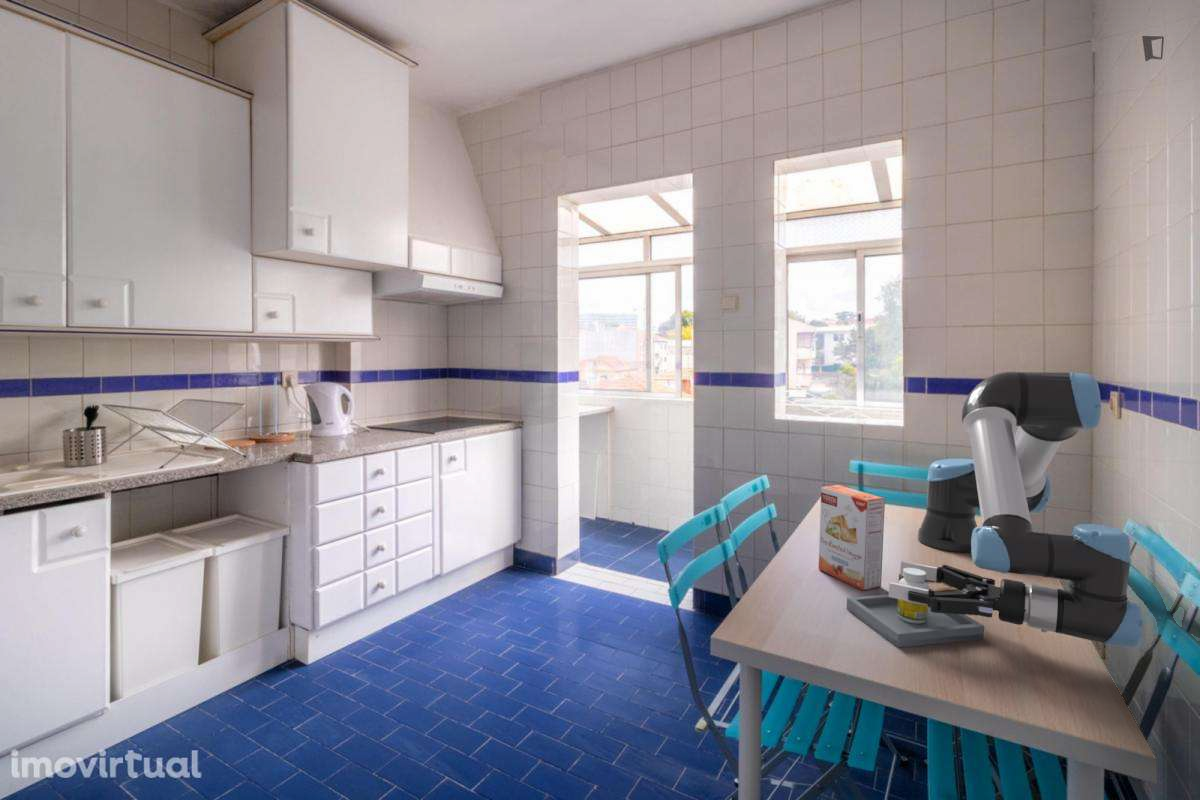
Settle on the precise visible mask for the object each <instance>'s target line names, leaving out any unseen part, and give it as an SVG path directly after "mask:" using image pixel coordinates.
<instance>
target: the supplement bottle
mask: <svg viewBox="0 0 1200 800" xmlns="http://www.w3.org/2000/svg"><path fill="white" fill-rule="evenodd" d="M903 577H904V578H902V579H901V580H900V581H899V580H898V581H899V582H898V584H903V585H908V586H912V587H917V588H922V589H927V590H929V589H930V586H929V584H928V583H927V582H926V581H927V580H926V572H924V571H923V570H920V569H916V568H904V569H903ZM897 615H898V617H899V618H900V619H902V620H904V621H906V622H909V623H913V624H923V623H926V622H927V619H928V605H923V604H919V603H914V602H910V601H905V600H900V599H898V608H897Z"/></svg>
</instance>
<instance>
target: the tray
mask: <svg viewBox="0 0 1200 800" xmlns="http://www.w3.org/2000/svg"><path fill="white" fill-rule="evenodd" d="M897 608H898V599H896V598H891V597H889V593H887V594H879V595H878V594H877V595H874V594H873V595H864V596H852V597H850V596H849V597H847V598H846V610H847V611H848V612H849V613H851V615H854V616H855V617H856V618H858V619H859V620H860V621H861V622H863V623H864V624H866V625H867V626H868V627H870V628H871V629H872V630H874V631H875V632H876V633H878V634H879V635H880V636H882V637H883V638H884V639H885V640H886V641H888V642H890V643H891V644H892V645H894V647H897V648H905V647H916V646H917V647H918V646H926V645H935V644H936V645H938V644H945V643H955V642H956V643H957V642H967V641H976V640H977V639H978V640H984V639H983V638H985V629H986V627H985V625H984V624H982V623H980V622H978V621H976V620H974V619H973V618H971V617H969V616H968V615H965V614H949V613H934V612H931V611H930V610H931V608H930V607H928V619H927V622H926V623H923V624H913V623H909V622H906V621H904V620H902V619H900V618H899V617H898V615H897Z"/></svg>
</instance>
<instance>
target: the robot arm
mask: <svg viewBox="0 0 1200 800" xmlns="http://www.w3.org/2000/svg"><path fill="white" fill-rule="evenodd" d="M1099 386H1100V385H1099V384H1098V381H1097V380H1096V378H1095V377H1094V376H1093V375H1091V374H1088V373H1079V372H1073V371H1070V372H1048V371H1047V372H1039V371H1037V372H1034V371H1033V372H1031V371H1030V372H1029V371H1028V372H1027V371H1025V372H1023V371H1022V372H1021V371H1020V372H1019V371H1018V372H1017V371H1004V372H1000V373H997V374H993V375H991V376H989V377H987V378H986V379H983V380H982V381H981V382H979V383H977V385H976V386H975V387H974V388H973V389H972V390H971V392H970V393H968V395H967V397H966V399H965V401H964V403H963V407H962V410H961V412H962V413H961V421H962V423H961V424H962V428H963V430H964V432H965V433H967V435H969V440H970V446H971V452H972V459H971V458H946V459H939V460H936V461H933V462H932V463H931V464H930V465H929V467H928V472H927V473H928V474H927V478H926V479H927V496H926V497H927V498H926V511H925V516H924V517H923V519H922V522H921V525H920V527H919V529H918V531H917V540H918V541H919V542H920V543H921V544H923V545H925V546H927V547H930V548H933V549H938V550H942V551H943V550H944V551H949V552H957V553H970V552H971V559H972V561H973V563H974V565H975V566H976V567H977V568H979V569H982V570H983V569H984V570H987V571H993V572H998V573H1001V574H1014V575H1015V574H1016V575H1025V576H1026V575H1027V576H1035V577H1043V578H1049V579H1055V580H1056V579H1058V580H1065V581H1069V582H1068V583H1069V584H1068V585H1069V590H1067V589H1062V588H1057V587H1053V586H1049V585H1048V586H1046V585H1042V584H1037V583H1032V582H1031V583H1030V584H1029V585H1028V586H1027V585H1026V583H1024V581H1019V580H1013V579H1007V578H1002V579H1001V580H1000V587H999V586H997V585H996V579H993V578H991V577H985V576H980V575H978V574H975V573H971V572H969V571H966V570H963V569H958V568H957V567H953V566H951V565H949V564H948V565H947V564H941V565H942V566H930V565H926V564H920V563H916V562H909V561H904V560H900V571H899V574H900V575H903V569H904V568H916V569H920V570H923V571H924V572H926V580H925V581H932V582H936V584H944V583H946V584H948V585H950V586H952V587H954V588H957V589H959V590H961V591H957V592H934V591H933V590H932V589H933V588H929V590H927V589H922V588H917V587H912V586H908V585H903V584H899V582H898V583H897V582H893V581H892V582H891V581H890V582H889V584H888V585H889V587H888V594H889V597H891V598H896V599H900V600H905V601H910V602H914V603H919V604H923V605H928V607H930V608H931V610H930V611H931V612H934V613H949V614H964V615H966V616H968V615H969V616H979V617H985V618H993V611H997V612H998V620H999V621H1001V622H1005V623H1010V624H1013V625H1018V626H1019V625H1020V626H1021V625H1024V623H1026V625H1027V626H1028V627H1030V628H1034V629H1039V630H1040V632H1042V633H1047V632H1053V633H1056V634H1062V635H1066V636H1070V637H1075V638H1079V639H1083V640H1086V641H1091V642H1095V643H1100V644H1102V645H1109V646H1115V647H1120V648H1127V649H1135V648H1137V647H1139V646H1140V644H1141V643H1142V639H1143V634H1144V613H1143V609H1142V607H1141V606H1140V605H1139V604H1137V603H1135V602H1132V601H1130V600H1128V596H1127V595H1128V593H1127V592H1128V586H1129V585H1128V583H1129V577H1130V576H1129V574H1130V568H1131V567H1130V566H1131V562H1132V559H1131V538H1130V536H1129V535H1128V534H1127V533H1126V532H1124V531H1122V530H1121V529H1118V528H1116V527H1112V526H1108V525H1102V524H1096V523H1087V524H1085V523H1079V524H1077V525H1075V526H1074V528H1073V529H1072V532H1071V535H1066V534H1059V533H1058V534H1057V533H1050V532H1049V533H1046V532H1039V531H1038V532H1037V531H1033V527H1032V526H1033V525H1032V520H1031V515H1030V514H1034V515H1035V514H1038V513H1041V512H1042V511H1043V510H1044V509H1045V508H1046V507H1047V505H1048V503H1049V500H1048V499H1049V498H1050V494H1051V483H1050V478H1049V475H1048V474H1047V473H1046V470H1047V468H1048V466H1049V465H1050V463H1051V461H1052V459H1054V456H1055V455H1056V453H1057V451H1058V449H1059V448H1060V446H1061V444H1062V442H1065V441H1068V440H1070V439H1072V438H1073V437H1074V436H1076V434H1077V433H1078V432H1079V430H1084V431H1088V430H1095V429H1096V428H1097V427H1098V426H1099V423H1100V422H1101V416H1102V415H1101V412H1102V401H1101V391H1100V387H1099ZM1016 427H1018V428H1017V430H1016V432H1015V434H1014V430H1015V428H1016ZM976 510H980V517H981V524H982V526H977V525H978V524H977V522H976ZM936 577H937V579H936ZM943 582H944V583H943ZM946 584H945V585H946ZM948 585H947V586H948ZM950 586H949V587H950Z"/></svg>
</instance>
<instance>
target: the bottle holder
mask: <svg viewBox="0 0 1200 800" xmlns="http://www.w3.org/2000/svg"><path fill="white" fill-rule="evenodd" d="M902 578H904V577H903V575H900V573H899V574H898V581H900V580H901V579H902ZM936 580H937V577H936ZM942 584H944V585H945V586H948V587H941V588H931V589H932V590H933V591H934V592H957V591H961V590H959V589H957V588H954V587H952V586H950V585H948V584H946V583H944V582H943V583H942Z"/></svg>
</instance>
